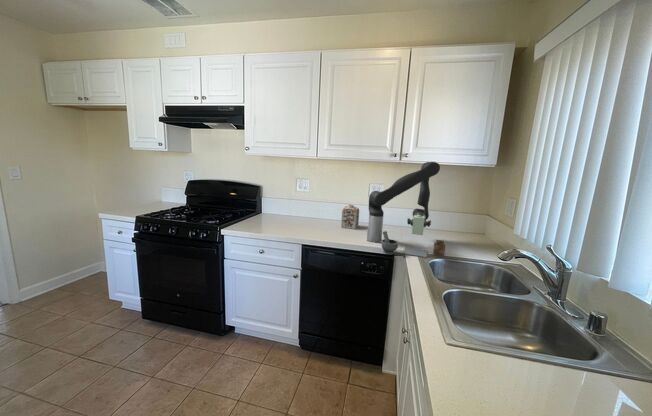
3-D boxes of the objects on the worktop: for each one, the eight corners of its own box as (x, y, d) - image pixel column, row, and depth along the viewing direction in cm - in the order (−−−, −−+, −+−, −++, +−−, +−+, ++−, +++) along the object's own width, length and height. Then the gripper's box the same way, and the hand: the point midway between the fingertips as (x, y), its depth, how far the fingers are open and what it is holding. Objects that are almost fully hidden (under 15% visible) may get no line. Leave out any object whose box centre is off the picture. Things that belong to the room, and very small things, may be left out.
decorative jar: (340, 227, 213) (341, 205, 209) (344, 224, 224) (345, 203, 220) (355, 229, 209) (357, 206, 206) (358, 226, 220) (360, 204, 217)
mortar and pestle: (400, 254, 157) (402, 234, 155) (388, 256, 153) (389, 236, 151) (388, 248, 167) (389, 229, 165) (375, 250, 163) (377, 231, 161)
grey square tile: (403, 254, 158) (403, 253, 158) (405, 247, 170) (405, 246, 169) (426, 258, 153) (426, 257, 153) (427, 251, 165) (427, 250, 165)
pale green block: (411, 234, 158) (413, 215, 155) (412, 231, 163) (414, 213, 161) (422, 235, 155) (424, 216, 153) (423, 232, 161) (424, 214, 159)
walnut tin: (433, 254, 159) (434, 241, 157) (433, 251, 164) (434, 238, 163) (444, 256, 157) (446, 243, 155) (444, 253, 162) (445, 240, 161)
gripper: (408, 212, 173) (405, 217, 158) (432, 214, 168) (432, 220, 153) (407, 223, 175) (404, 230, 159) (431, 226, 170) (431, 233, 154)
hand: (418, 225), depth 156 cm, fingers closed on pale green block, 6 cm apart
